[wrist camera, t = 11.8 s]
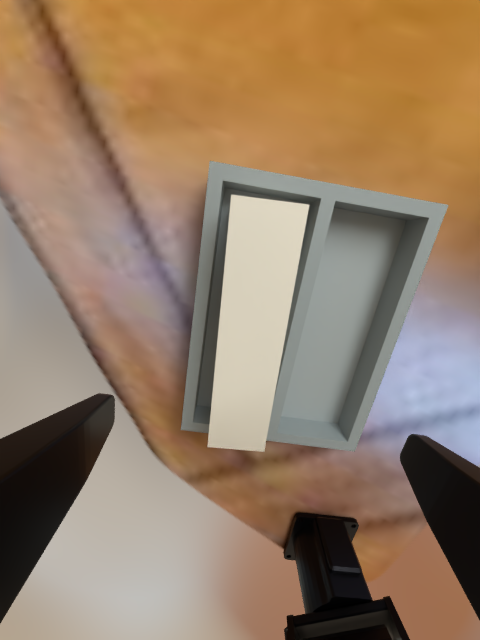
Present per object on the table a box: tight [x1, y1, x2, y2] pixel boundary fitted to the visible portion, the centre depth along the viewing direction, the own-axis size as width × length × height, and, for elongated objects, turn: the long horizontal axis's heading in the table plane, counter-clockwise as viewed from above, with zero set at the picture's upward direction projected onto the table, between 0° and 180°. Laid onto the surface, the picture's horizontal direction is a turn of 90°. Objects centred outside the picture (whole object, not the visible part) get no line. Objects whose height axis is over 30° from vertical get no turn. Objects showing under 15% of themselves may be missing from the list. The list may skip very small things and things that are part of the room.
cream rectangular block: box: [207, 195, 309, 452], centre depth 15 cm, size 14×4×5 cm, turn 173°
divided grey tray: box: [181, 161, 448, 451], centre depth 18 cm, size 18×13×3 cm
